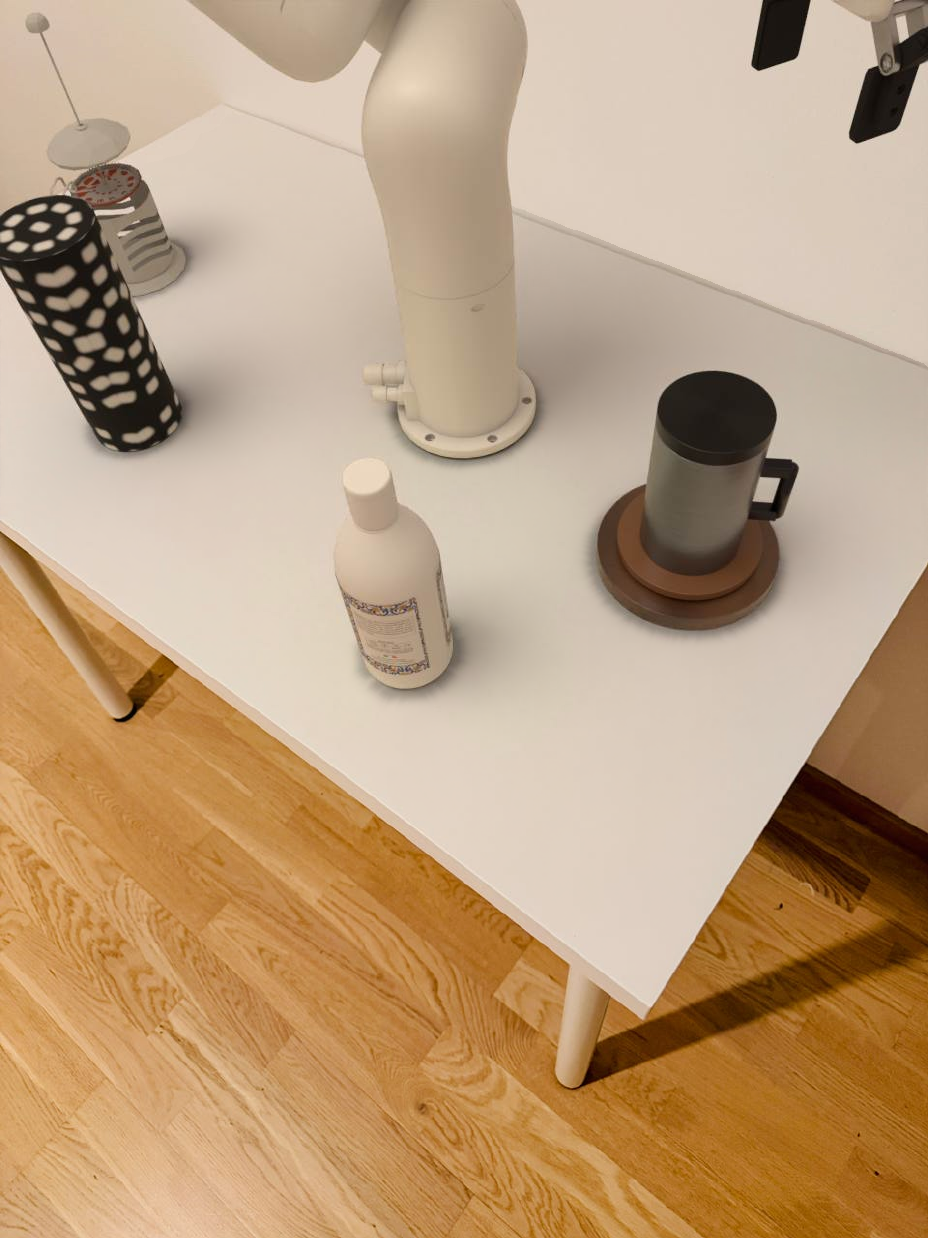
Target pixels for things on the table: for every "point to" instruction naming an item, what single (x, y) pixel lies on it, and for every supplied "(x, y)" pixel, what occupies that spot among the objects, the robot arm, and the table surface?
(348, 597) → the bath foam
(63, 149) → the french press
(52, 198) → the spotted tube
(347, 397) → the table surface
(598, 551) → the turntable base
